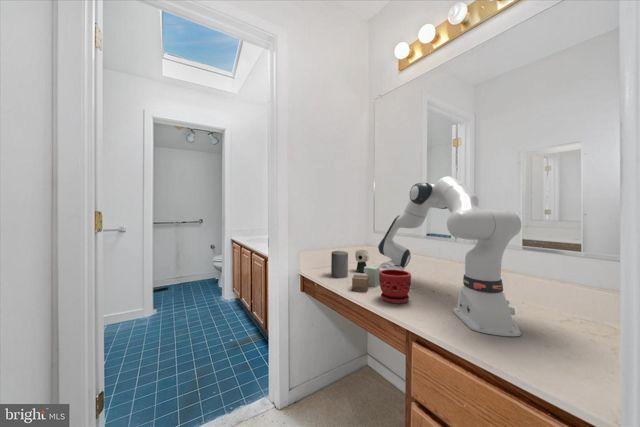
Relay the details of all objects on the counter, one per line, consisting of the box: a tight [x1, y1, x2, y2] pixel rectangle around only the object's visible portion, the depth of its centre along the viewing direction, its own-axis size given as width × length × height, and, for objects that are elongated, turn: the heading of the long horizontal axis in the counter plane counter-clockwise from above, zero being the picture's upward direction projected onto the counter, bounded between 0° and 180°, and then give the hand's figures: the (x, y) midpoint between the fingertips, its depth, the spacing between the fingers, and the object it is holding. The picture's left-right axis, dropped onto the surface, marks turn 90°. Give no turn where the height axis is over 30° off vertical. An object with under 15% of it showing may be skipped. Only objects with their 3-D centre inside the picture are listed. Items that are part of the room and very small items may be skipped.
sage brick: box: [367, 265, 380, 288], centre depth 128 cm, size 4×4×9 cm
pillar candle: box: [330, 249, 349, 279], centre depth 145 cm, size 10×10×15 cm
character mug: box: [354, 249, 369, 273], centre depth 155 cm, size 11×7×13 cm, turn 35°
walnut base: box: [351, 274, 370, 293], centre depth 122 cm, size 7×7×6 cm
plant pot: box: [379, 270, 412, 304], centre depth 108 cm, size 13×13×12 cm
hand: (375, 275), depth 129 cm, fingers open, 8 cm apart
